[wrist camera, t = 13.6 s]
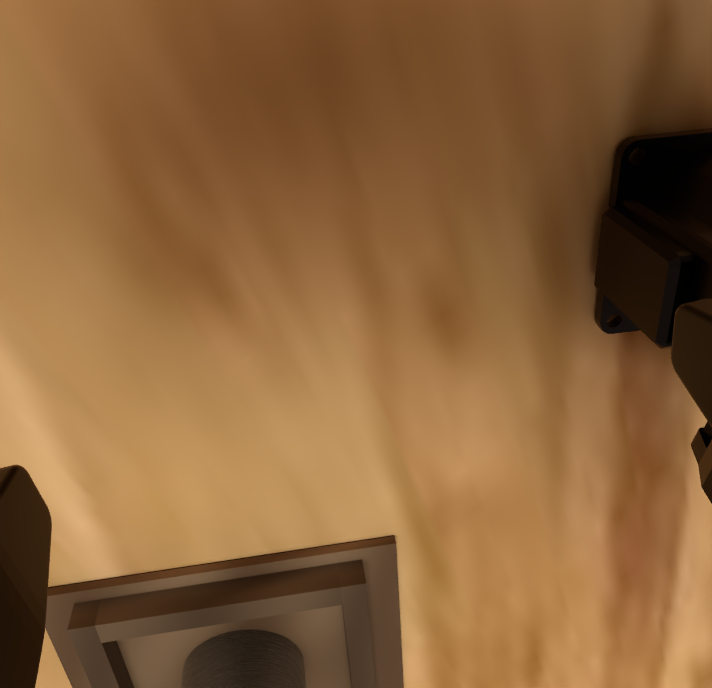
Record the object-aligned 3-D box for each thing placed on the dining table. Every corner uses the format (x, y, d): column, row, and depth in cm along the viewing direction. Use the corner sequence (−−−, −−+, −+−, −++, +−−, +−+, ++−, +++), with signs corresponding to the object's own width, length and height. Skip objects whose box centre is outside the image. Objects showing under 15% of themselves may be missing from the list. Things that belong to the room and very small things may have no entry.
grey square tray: (393, 535, 27) (401, 566, 26) (403, 717, 34) (410, 749, 32) (34, 590, 26) (22, 625, 25) (114, 767, 32) (108, 803, 31)
